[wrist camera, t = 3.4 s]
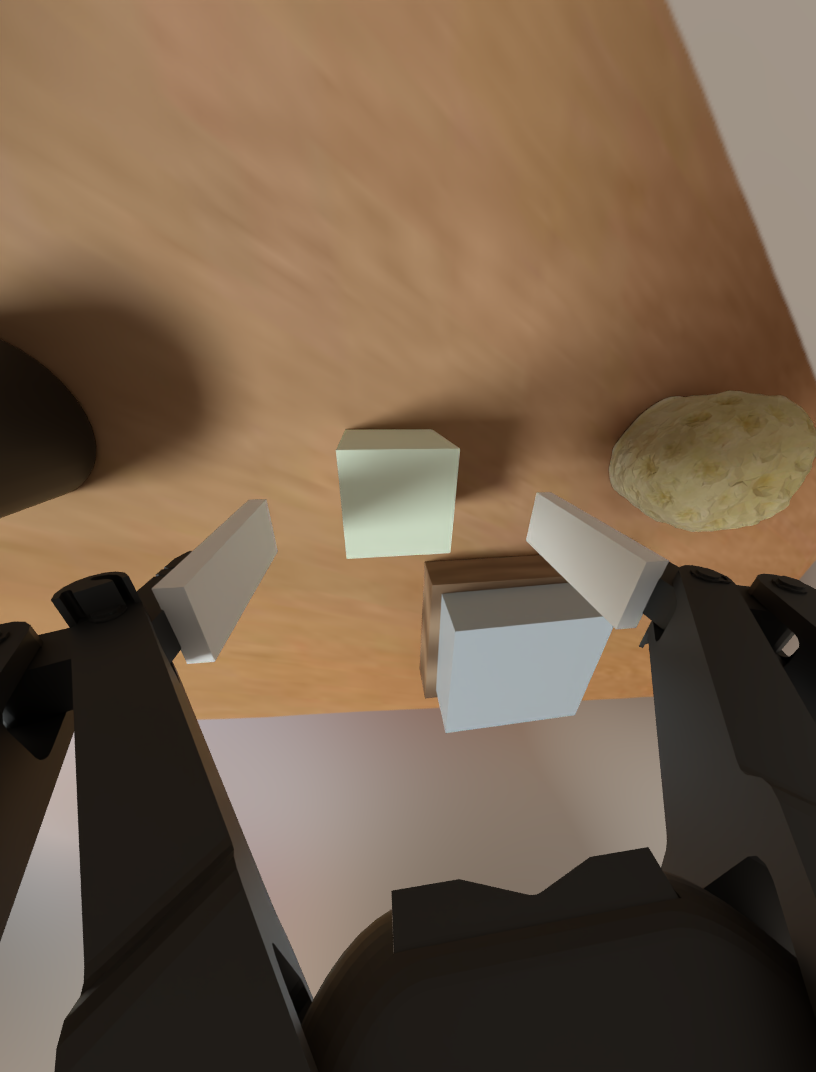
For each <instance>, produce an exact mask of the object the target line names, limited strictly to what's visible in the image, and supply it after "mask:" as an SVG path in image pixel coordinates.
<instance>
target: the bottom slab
mask: <svg viewBox="0 0 816 1072" xmlns="http://www.w3.org/2000/svg"><path fill="white" fill-rule="evenodd" d="M560 583H569V582H568V581H567V580H566V579H565V578H564V577H563V576H562V575H560V574H559V573H558V572H557V571H556V570H555V569H554V568H553V567H552V566H551V565H550V564H549V563H548V562H547V561H546V560H545V559H544V558H543V557H542V556H541V555H534V556H517V557H500V558H482V559H465V560H448V561H431V562H425V566H424V588H423V609H422V630H421V651H420V673H421V679H422V684H423V690H424V695H425V698H433V697H438V696H437V692H436V684H437V667H438V650H439V633H440V616H441V599H442V594H445V593H457V592H468V591H480V590H491V589H503V588H514V587H526V586H537V585H549V584H560Z"/></svg>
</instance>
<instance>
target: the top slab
mask: <svg viewBox="0 0 816 1072" xmlns="http://www.w3.org/2000/svg"><path fill="white" fill-rule="evenodd" d="M612 629H613V626H612V625H611V624H610V623H609V622H608V621H607V620H606V619H605V618H604V617H603V616H602V615H601V614H600V613H599V612H598V611H597V610H596V609H595V608H594V607H593V606H592V605H591V604H590V603H589V602H588V601H587V600H586V599H585V598H584V597H583V596H582V595H581V594H580V593H579V592H578V591H577V590H576V589H575V588H574V587H573V586H572V585H571V584H570V583H560V584H549V585H537V586H526V587H514V588H503V589H491V590H480V591H468V592H457V593H445V594H442V599H441V616H440V633H439V650H438V667H437V684H436V692H437V696H438V701H439V705H440V710H441V713H442V718H443V723H444V727H445V732H446V733H449V732H456V731H463V730H471V729H478V728H485V727H492V726H500V725H506V724H513V723H521V722H528V721H535V720H543V719H550V718H556V717H564V716H571V715H575V714H576V711H577V709H578V707H579V704H580V702H581V700H582V697H583V695H584V693H585V691H586V688H587V686H588V684H589V681H590V679H591V677H592V675H593V672H594V670H595V668H596V665H597V663H598V661H599V658H600V656H601V654H602V652H603V649H604V647H605V645H606V642H607V640H608V638H609V636H610V633H611V631H612Z"/></svg>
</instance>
